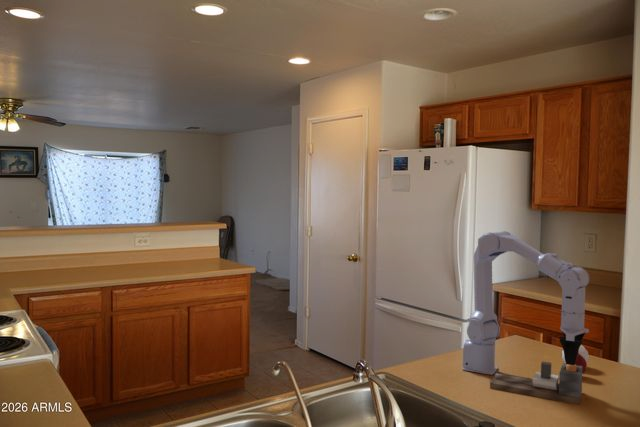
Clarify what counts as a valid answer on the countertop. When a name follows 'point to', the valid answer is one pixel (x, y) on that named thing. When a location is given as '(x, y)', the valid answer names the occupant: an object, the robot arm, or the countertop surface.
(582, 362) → the onion
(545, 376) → the carriage
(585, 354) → the ball
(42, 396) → the countertop surface
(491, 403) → the countertop surface
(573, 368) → the brown egg
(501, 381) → the rail bed
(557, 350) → the countertop surface
